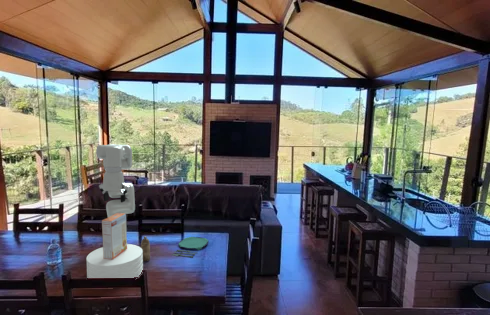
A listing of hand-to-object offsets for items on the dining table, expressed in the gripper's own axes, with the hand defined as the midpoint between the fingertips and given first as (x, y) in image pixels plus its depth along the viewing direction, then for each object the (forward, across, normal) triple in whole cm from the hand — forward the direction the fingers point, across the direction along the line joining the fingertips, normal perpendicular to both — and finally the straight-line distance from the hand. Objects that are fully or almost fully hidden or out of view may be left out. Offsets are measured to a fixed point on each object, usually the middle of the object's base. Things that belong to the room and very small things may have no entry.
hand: (114, 201), depth 162 cm
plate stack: (+41, 0, 0) cm, 41 cm away
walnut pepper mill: (+40, +8, +18) cm, 45 cm away
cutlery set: (+41, +28, +42) cm, 65 cm away
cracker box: (+29, 0, 0) cm, 29 cm away
